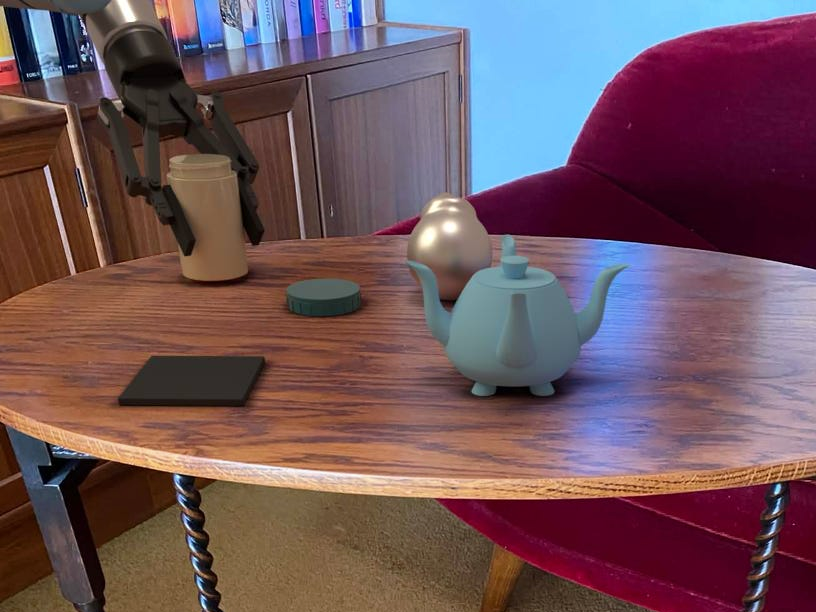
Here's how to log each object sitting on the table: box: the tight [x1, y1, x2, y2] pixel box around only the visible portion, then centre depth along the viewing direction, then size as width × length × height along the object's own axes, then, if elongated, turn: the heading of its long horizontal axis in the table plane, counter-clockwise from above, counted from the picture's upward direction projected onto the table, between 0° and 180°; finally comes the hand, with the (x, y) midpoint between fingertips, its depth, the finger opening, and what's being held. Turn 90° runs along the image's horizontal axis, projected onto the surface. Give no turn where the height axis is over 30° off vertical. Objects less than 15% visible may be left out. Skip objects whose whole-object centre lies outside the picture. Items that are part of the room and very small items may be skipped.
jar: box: [166, 153, 249, 282], centre depth 103 cm, size 7×7×11 cm
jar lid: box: [285, 278, 363, 317], centre depth 99 cm, size 8×8×2 cm
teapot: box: [404, 234, 629, 397], centre depth 80 cm, size 13×13×10 cm
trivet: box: [117, 355, 266, 407], centre depth 81 cm, size 10×10×1 cm
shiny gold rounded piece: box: [406, 192, 494, 301], centre depth 99 cm, size 9×10×10 cm
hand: (225, 242), depth 102 cm, fingers closed on jar, 7 cm apart
